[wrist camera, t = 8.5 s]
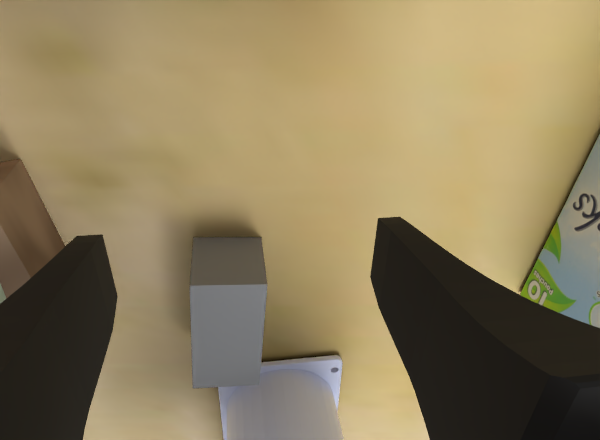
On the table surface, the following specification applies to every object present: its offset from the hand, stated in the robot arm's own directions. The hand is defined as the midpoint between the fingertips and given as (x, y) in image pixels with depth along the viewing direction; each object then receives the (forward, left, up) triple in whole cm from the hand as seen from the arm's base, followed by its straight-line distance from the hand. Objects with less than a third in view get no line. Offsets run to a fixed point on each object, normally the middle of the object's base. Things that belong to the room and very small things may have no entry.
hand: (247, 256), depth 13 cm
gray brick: (-10, +1, -11) cm, 15 cm away
